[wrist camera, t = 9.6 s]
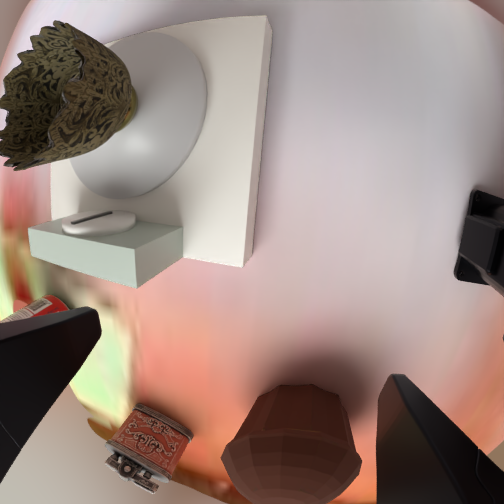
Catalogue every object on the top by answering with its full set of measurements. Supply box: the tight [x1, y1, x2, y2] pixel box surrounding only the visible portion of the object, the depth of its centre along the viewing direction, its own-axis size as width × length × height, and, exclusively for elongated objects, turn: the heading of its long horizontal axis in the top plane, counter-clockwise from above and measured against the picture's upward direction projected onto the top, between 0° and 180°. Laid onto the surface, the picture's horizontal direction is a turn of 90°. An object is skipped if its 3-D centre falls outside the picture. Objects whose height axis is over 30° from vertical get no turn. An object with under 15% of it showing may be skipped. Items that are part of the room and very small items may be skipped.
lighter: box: [105, 404, 193, 494], centre depth 23 cm, size 8×3×10 cm, turn 69°
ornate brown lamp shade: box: [0, 20, 138, 171], centre depth 11 cm, size 8×7×8 cm
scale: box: [28, 15, 273, 288], centre depth 15 cm, size 18×16×8 cm
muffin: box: [221, 384, 362, 504], centre depth 18 cm, size 12×11×10 cm
